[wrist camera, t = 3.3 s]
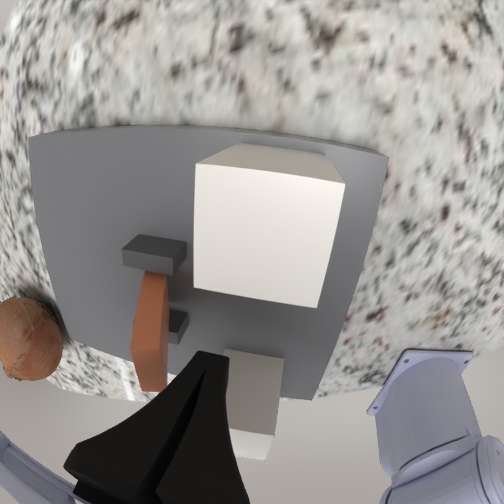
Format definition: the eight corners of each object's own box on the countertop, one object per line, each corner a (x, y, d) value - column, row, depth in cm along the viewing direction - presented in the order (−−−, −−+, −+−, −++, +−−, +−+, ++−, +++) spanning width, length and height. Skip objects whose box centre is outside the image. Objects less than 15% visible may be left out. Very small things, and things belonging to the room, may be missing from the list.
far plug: (275, 391, 20) (264, 460, 15) (223, 382, 21) (203, 448, 15) (284, 358, 18) (274, 435, 13) (225, 348, 19) (200, 421, 14)
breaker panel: (312, 372, 23) (311, 421, 18) (86, 319, 25) (58, 352, 21) (374, 149, 15) (402, 164, 10) (56, 131, 17) (7, 143, 12)
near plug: (312, 234, 14) (316, 308, 9) (233, 222, 15) (193, 287, 9) (326, 154, 12) (345, 183, 7) (239, 142, 13) (195, 163, 8)
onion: (67, 324, 31) (34, 387, 25) (13, 278, 26) (-24, 344, 20) (89, 332, 25) (49, 412, 19) (19, 273, 20) (-29, 359, 14)
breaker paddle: (169, 311, 17) (167, 391, 12) (150, 311, 17) (142, 391, 12) (166, 269, 16) (159, 348, 10) (145, 269, 15) (129, 348, 10)
